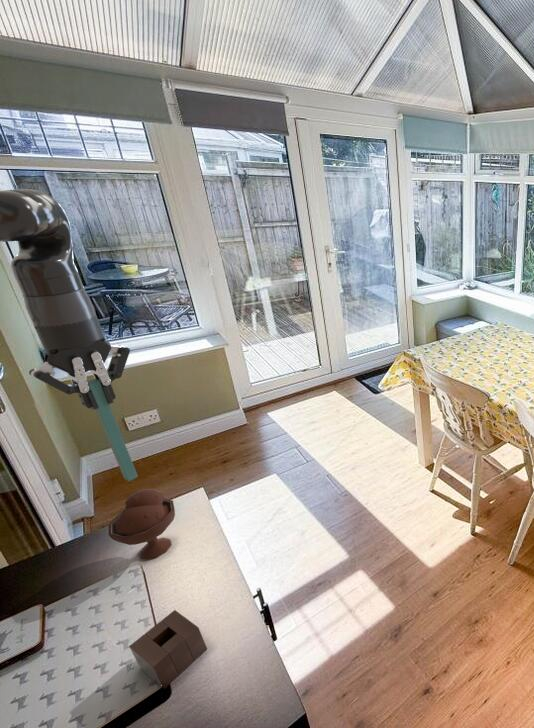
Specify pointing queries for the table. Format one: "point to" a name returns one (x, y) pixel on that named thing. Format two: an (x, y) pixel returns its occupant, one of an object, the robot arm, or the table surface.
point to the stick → (112, 431)
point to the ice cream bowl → (144, 522)
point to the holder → (168, 648)
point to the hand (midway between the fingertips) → (101, 405)
